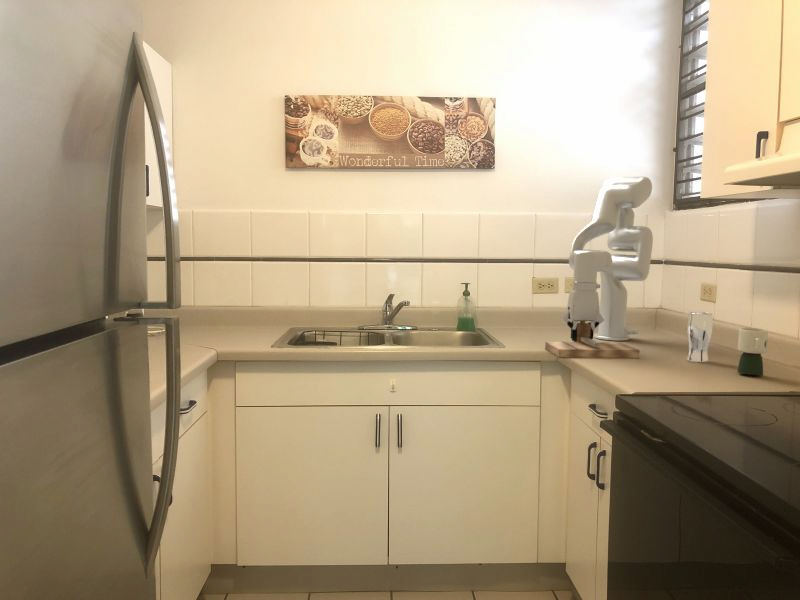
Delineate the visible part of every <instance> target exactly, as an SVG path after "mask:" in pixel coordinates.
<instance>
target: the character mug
mask: <svg viewBox="0 0 800 600" xmlns="http://www.w3.org/2000/svg"><path fill="white" fill-rule="evenodd" d="M738 329H739V330H738V341H737V350H738V351H739V352H742V353H741V355H740V358H739V360H738V361H739V362H738V367H737V373H739V374H743V375H744V374H746V375H750V376H751V377H753V376H754V375H755V376H763V375H764V364H763V363H764V361H763V357H762V354H764V353H767V350H768V339H769V329H768V330H767V329H764V328H758V327H757V328H755V327H739V328H738Z"/></svg>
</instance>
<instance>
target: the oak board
mask: <svg viewBox="0 0 800 600" xmlns="http://www.w3.org/2000/svg"><path fill="white" fill-rule="evenodd" d="M599 343H600V348H595V347H592V346H590V345H588V344H586V343H584V342H574V341H545V344H544V349H545V350H546V351H547V352H549V353H551V354H553V355H554V356H556V357H558V358H605V359H606V358H608V359H609V358H610V359H611V358H612V359H613V358H615V359H617V358H624V359H625V358H627V359H628V358H629V359H639V358H640V349H638V348H636V347H633V346H630V345H628V344H625V343H623V342H619V341H618V342H617V341H616V342H615V341H614V342H613V341H609V342H607V341H606V342H604V341H603V342H602V341H599Z"/></svg>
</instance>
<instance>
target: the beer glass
mask: <svg viewBox="0 0 800 600" xmlns="http://www.w3.org/2000/svg"><path fill="white" fill-rule="evenodd" d="M688 314H689V315H688V319H687V338H688V353H687V357H686V360H687V361H689V362H692V363H701V364H702V363H704V364H705V363H709V354H708V352H709V351H708V350H709V346H710V342H711V341H710V340H711V339H712V338H711V337H712V335H713V334H712V333H713V325H714V324H713V323H714V321H713V320H714V319H713V318H714V315H713V313H712V312H711V313H710V312H704V311H702V312H701V311H689V313H688Z"/></svg>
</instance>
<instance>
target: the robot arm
mask: <svg viewBox="0 0 800 600" xmlns="http://www.w3.org/2000/svg"><path fill="white" fill-rule="evenodd" d="M652 183H653V182H652V180H651V179H650V178H649V177H647V176H620V177H611V178H607V179H605V181H604V182H603V184H602V187H601V188H600V190H599V192H598V194H597V195H598V196H597V199H596V203H595V206H594V211H593V214H592V219H591V221H590V223H588V224H587V225H585V227H583V228H582V229H581V230H580V232H579V231H578V234H576V236H575V237H574V239H573V241H572V245H571V249H570V252H569V257H568V265H569V267H570V269H572V270H573V279H572V290H570V291H569V295H568V299H567V304H566V312H565V313H564V315H563V316H562V317H561V321H562V322H563V323H565V324H566V325H567V326H568V327H569V329H570V339H571V342H576V341H577V330H576V327H577V323H579V322H580V321H585V322H587V323H588V324H591V329H590V339H592V340H594V338H595V339H599V340H605V341H612V342H613V341H614V342H615V341H616V342H617V341H618V342H620V341H622V342H623V341H629V340H630V336H629V335H638V334H639V330H638V328H633V329H632V328H629V327H628V326H627V310H628V309H627V308H628V306H627V305H628V290H627V288H626V286H625V285H624V283H623V281H624V282H626V281H629V282H643V281H645V280H647V278H648V276H649V273H650V269H651V268H650V267H651V260H652V252H653V242H654V236H653V232H652V230H651V228H649V227H647V226H643V225H639V226H638V225H634V222H635V221H634V220H635V212H634V210H633V209H636V208H639V207H640V206H641V205H643V204H644V203H645V202H646V201H647V200H649V198H650V197H651V194H652V191H653V184H652ZM604 235H607V243H606V244H607V247H608V249H609V250H611V251H613V252H624V253H628V252H630V253H636V254H619V253H618V254H617V253H616V254H615V253H614V254H611V253H610V252H609V251H606V250H603V249H584V248H585V246H587V244H588V243H589V242H590V243H591V241H593V240H595V239H597V238H599V237H602V236H604ZM598 273H599V276H600V284H599V283H598V282H597V278H598ZM598 289H600V299H599V293H598V291H597V290H598ZM597 327H598V332H596V333H595V332H594V331H596V328H597Z"/></svg>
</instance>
